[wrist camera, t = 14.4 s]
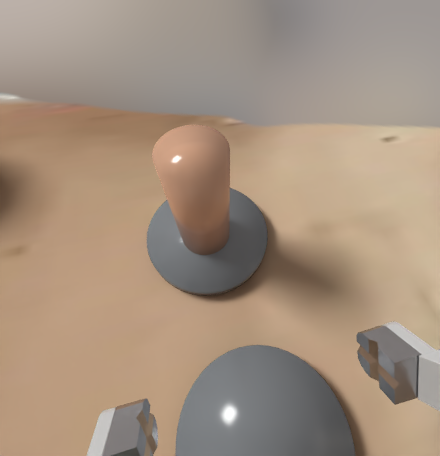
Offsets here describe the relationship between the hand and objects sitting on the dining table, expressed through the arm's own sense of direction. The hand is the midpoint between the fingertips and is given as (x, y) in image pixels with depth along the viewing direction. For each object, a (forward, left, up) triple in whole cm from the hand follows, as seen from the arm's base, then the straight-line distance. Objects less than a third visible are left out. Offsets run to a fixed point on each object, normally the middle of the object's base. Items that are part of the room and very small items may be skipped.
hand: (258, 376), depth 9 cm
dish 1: (0, +10, -8) cm, 13 cm away
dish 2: (0, -4, -8) cm, 9 cm away
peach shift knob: (0, +10, -7) cm, 13 cm away
